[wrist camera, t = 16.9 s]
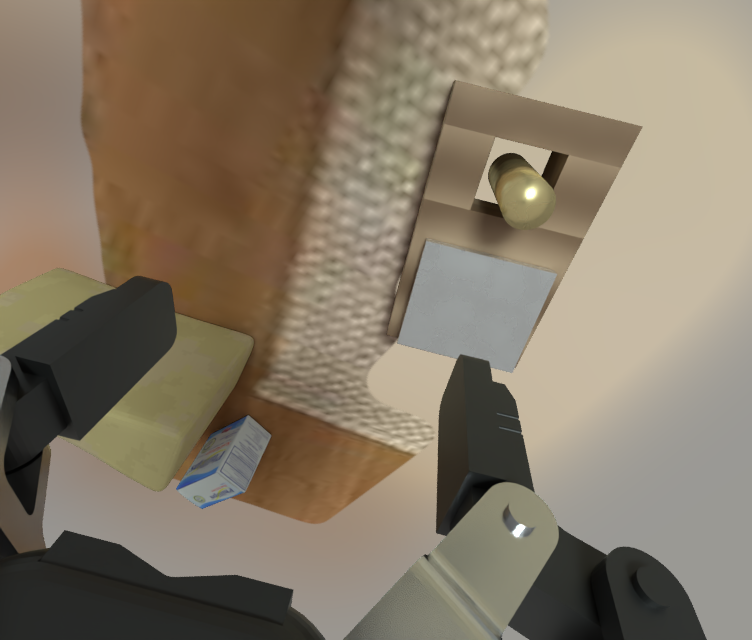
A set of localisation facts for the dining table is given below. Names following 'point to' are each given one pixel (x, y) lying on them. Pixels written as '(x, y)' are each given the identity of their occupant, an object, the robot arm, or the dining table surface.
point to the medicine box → (225, 463)
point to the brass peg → (521, 192)
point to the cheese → (155, 389)
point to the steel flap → (473, 304)
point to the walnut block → (484, 219)
